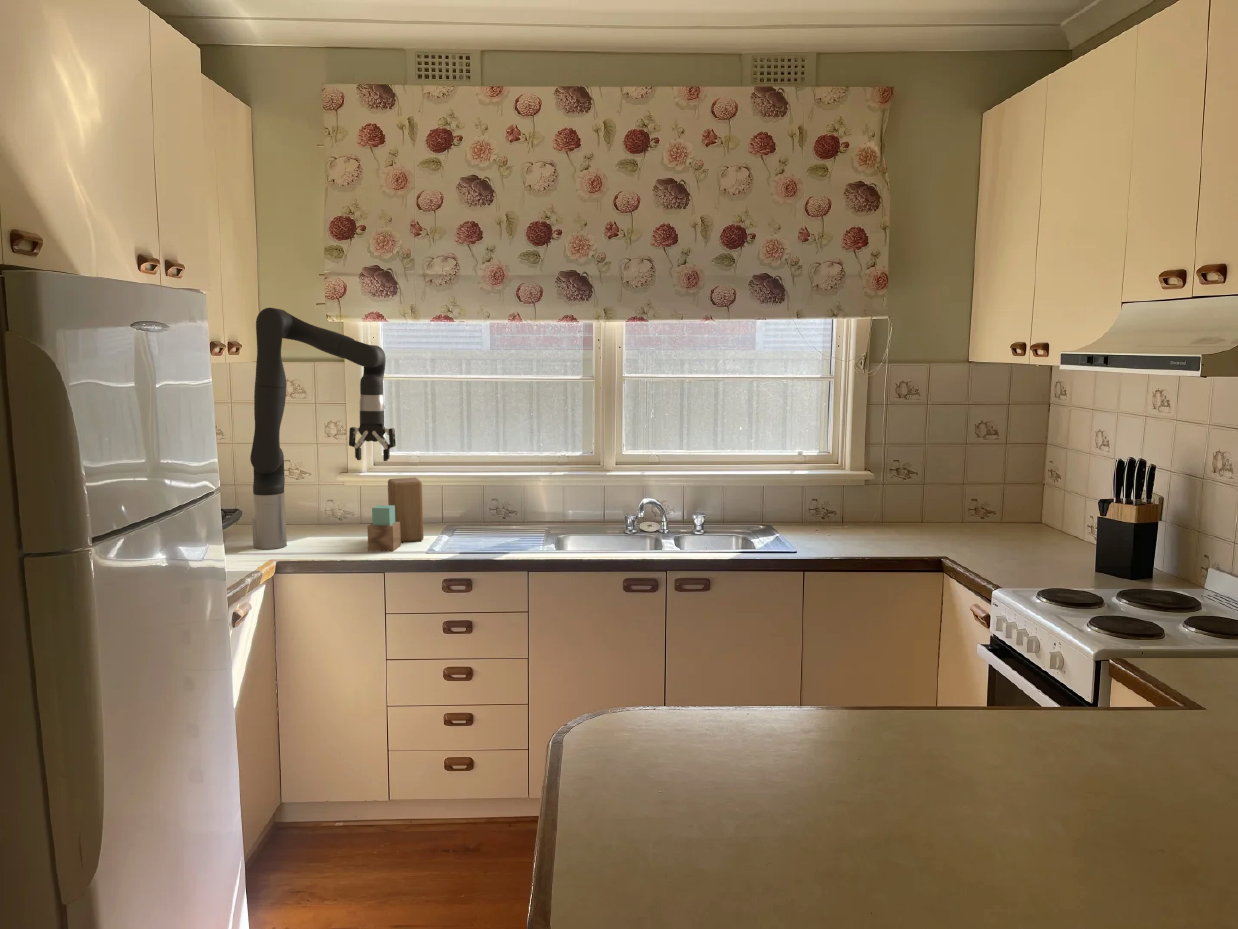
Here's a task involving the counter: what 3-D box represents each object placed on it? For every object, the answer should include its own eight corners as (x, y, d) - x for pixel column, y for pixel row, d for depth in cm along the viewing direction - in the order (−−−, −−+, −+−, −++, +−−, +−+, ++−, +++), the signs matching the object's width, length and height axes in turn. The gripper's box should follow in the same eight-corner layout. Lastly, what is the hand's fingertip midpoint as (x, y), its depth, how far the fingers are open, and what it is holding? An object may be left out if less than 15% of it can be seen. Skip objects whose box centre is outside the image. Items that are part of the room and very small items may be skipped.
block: (389, 537, 308) (387, 478, 306) (419, 535, 312) (417, 477, 309) (393, 543, 299) (391, 482, 297) (424, 541, 303) (422, 480, 300)
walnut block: (368, 551, 288) (367, 526, 287) (376, 546, 296) (375, 521, 295) (393, 551, 287) (392, 526, 287) (400, 546, 295) (400, 521, 294)
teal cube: (372, 525, 288) (371, 508, 287) (378, 522, 294) (377, 505, 293) (389, 525, 288) (389, 508, 287) (395, 522, 293) (394, 505, 292)
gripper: (345, 409, 286) (346, 461, 288) (390, 410, 285) (390, 462, 287) (353, 407, 293) (354, 458, 295) (397, 409, 292) (398, 459, 294)
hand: (372, 460), depth 291 cm, fingers open, 8 cm apart
